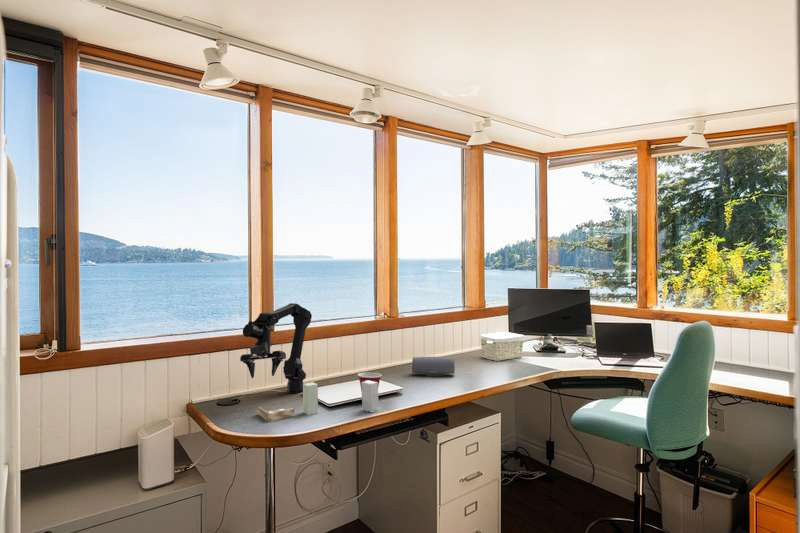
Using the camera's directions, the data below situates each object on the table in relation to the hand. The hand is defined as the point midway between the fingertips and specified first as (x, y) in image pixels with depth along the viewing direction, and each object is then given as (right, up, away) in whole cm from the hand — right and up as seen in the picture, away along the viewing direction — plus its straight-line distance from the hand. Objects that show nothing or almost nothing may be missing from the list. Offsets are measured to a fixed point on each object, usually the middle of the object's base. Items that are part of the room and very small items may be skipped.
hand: (262, 377), depth 207 cm
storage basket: (+123, -11, +100) cm, 159 cm away
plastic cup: (+45, -13, +12) cm, 48 cm away
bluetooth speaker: (+77, -12, +57) cm, 97 cm away
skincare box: (+46, -14, -3) cm, 48 cm away
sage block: (+21, -14, -5) cm, 26 cm away
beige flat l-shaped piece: (+8, -14, -7) cm, 18 cm away
